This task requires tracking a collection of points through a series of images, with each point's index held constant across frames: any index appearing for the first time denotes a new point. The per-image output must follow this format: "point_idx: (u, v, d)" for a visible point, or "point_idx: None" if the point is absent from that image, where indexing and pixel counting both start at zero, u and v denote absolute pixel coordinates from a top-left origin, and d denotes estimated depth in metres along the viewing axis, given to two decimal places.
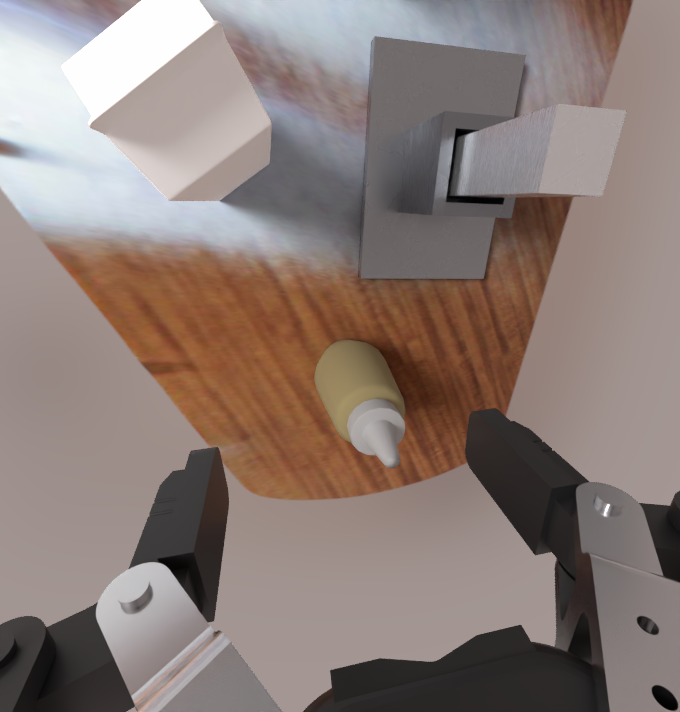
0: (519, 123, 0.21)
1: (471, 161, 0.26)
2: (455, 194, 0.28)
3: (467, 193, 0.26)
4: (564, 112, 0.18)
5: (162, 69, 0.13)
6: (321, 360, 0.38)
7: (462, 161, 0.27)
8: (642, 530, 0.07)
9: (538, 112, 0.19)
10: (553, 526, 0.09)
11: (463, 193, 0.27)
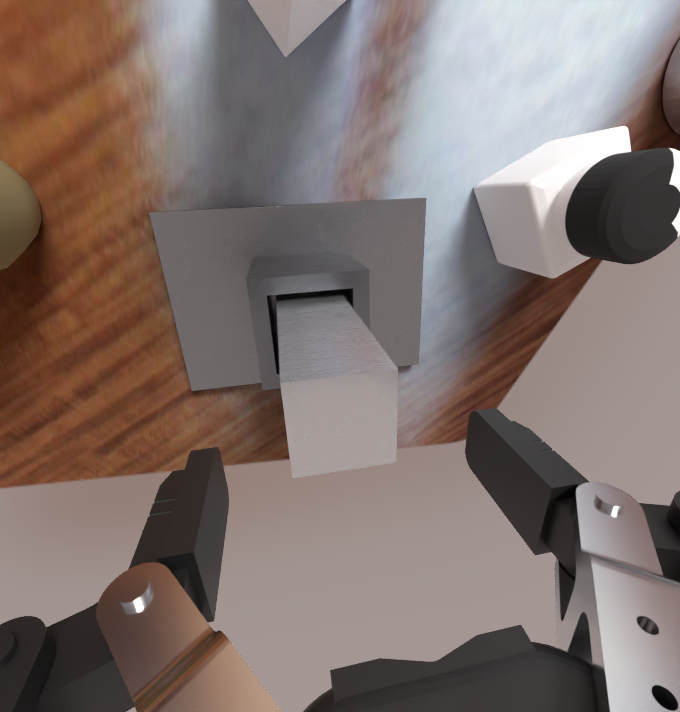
0: (368, 340, 0.15)
1: (317, 310, 0.19)
2: (277, 305, 0.21)
3: (279, 314, 0.19)
4: (388, 382, 0.13)
5: None
6: None
7: (317, 303, 0.20)
8: (642, 530, 0.07)
9: (383, 353, 0.14)
10: (553, 526, 0.09)
11: (279, 311, 0.19)
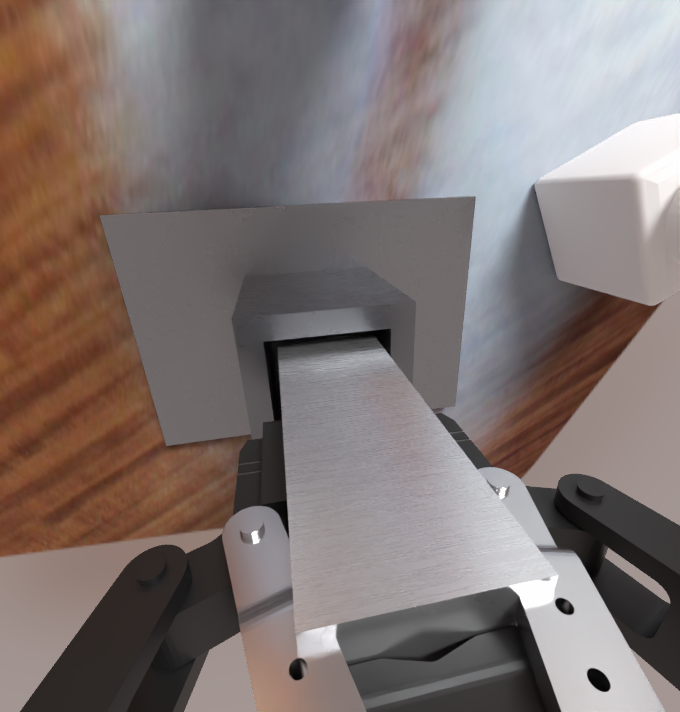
0: (451, 455, 0.08)
1: (343, 370, 0.12)
2: (280, 357, 0.14)
3: (282, 379, 0.12)
4: None
5: None
6: None
7: (340, 354, 0.14)
8: (519, 509, 0.08)
9: (499, 506, 0.07)
10: None
11: (282, 371, 0.12)
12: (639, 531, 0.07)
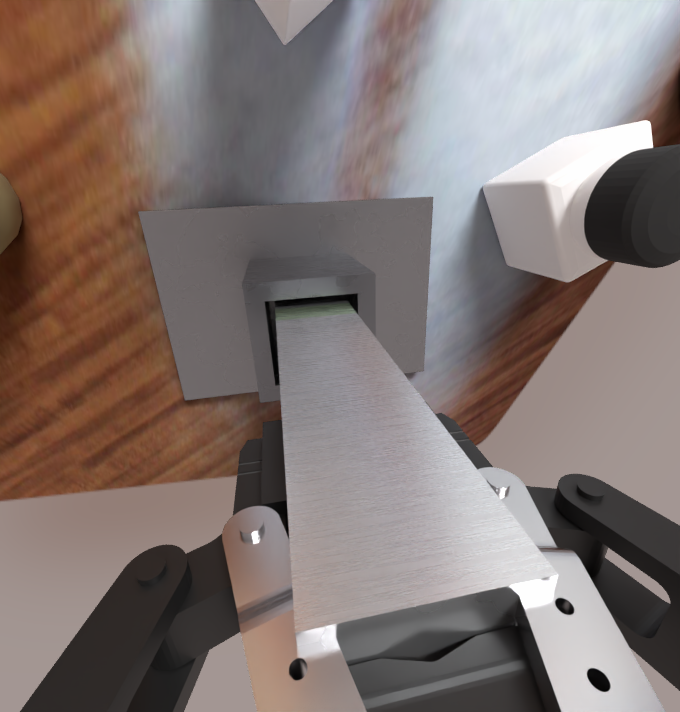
0: (451, 455, 0.08)
1: (343, 370, 0.12)
2: (280, 357, 0.14)
3: (282, 379, 0.12)
4: None
5: None
6: None
7: (340, 354, 0.14)
8: (519, 509, 0.08)
9: (499, 505, 0.07)
10: None
11: (282, 371, 0.12)
12: (639, 531, 0.07)
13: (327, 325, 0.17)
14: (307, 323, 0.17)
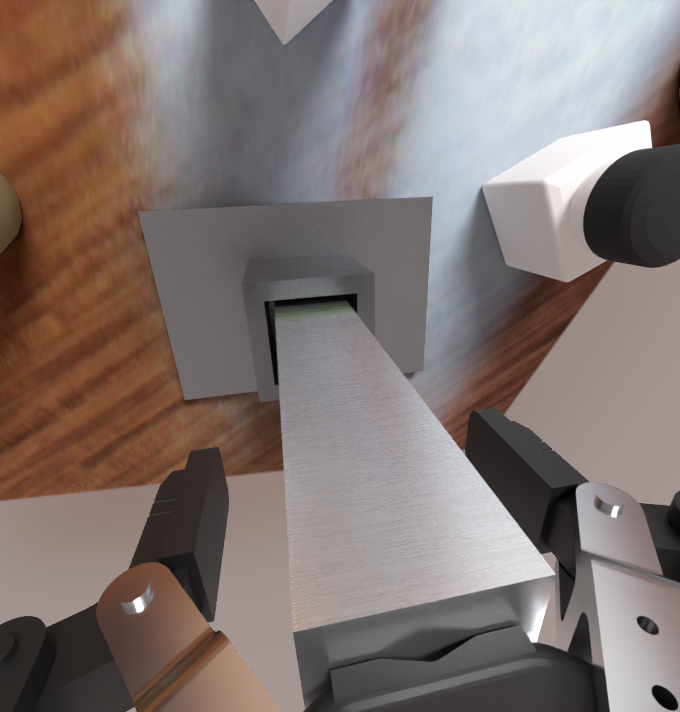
0: (450, 455, 0.08)
1: (342, 370, 0.12)
2: (279, 357, 0.14)
3: (281, 379, 0.12)
4: (531, 598, 0.06)
5: None
6: None
7: (339, 354, 0.14)
8: (642, 530, 0.07)
9: (498, 505, 0.07)
10: (553, 526, 0.09)
11: (281, 371, 0.12)
12: None
13: (327, 325, 0.17)
14: (306, 323, 0.17)
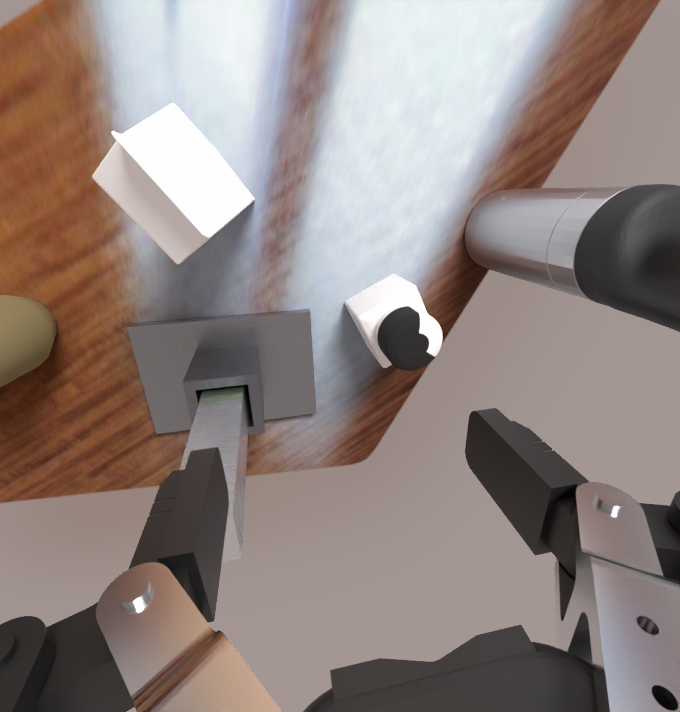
0: (230, 480, 0.25)
1: (215, 440, 0.29)
2: (191, 431, 0.30)
3: (187, 445, 0.28)
4: (228, 520, 0.22)
5: (168, 196, 0.18)
6: (13, 300, 0.34)
7: (218, 430, 0.30)
8: (642, 530, 0.07)
9: (232, 496, 0.23)
10: (553, 526, 0.09)
11: (189, 440, 0.29)
12: None
13: (223, 408, 0.33)
14: (213, 406, 0.34)
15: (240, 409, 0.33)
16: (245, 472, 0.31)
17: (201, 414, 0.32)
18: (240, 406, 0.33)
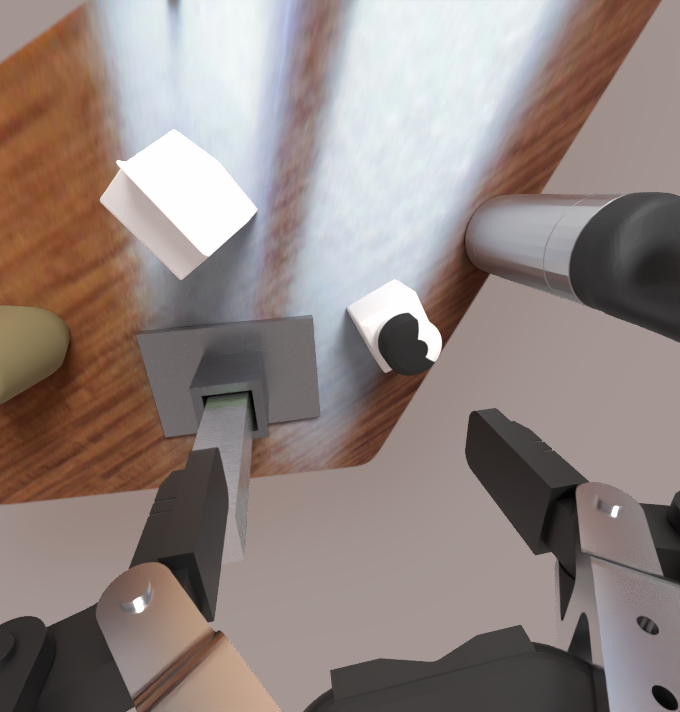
0: (233, 485, 0.26)
1: (219, 445, 0.30)
2: (197, 437, 0.31)
3: None
4: (230, 523, 0.23)
5: None
6: (28, 311, 0.36)
7: (222, 436, 0.31)
8: (642, 530, 0.07)
9: (235, 500, 0.24)
10: (553, 526, 0.09)
11: (194, 446, 0.30)
12: None
13: (227, 414, 0.34)
14: (218, 412, 0.35)
15: (244, 414, 0.34)
16: (249, 476, 0.32)
17: (207, 419, 0.34)
18: (244, 411, 0.35)
